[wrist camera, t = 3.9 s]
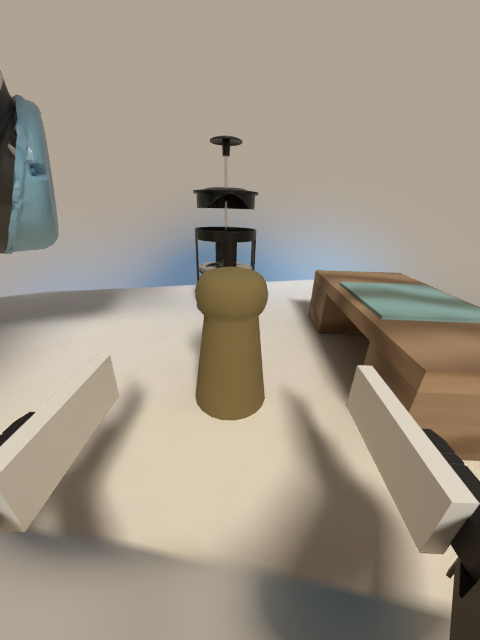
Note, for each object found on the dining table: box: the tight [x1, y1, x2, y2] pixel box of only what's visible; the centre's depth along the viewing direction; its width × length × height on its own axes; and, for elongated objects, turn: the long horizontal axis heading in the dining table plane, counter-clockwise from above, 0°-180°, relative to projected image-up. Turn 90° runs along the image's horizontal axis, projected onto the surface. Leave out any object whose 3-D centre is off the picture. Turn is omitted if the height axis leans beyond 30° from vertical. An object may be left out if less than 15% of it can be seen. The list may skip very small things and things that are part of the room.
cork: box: [195, 267, 268, 420], centre depth 19 cm, size 6×6×11 cm
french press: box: [193, 136, 258, 310], centre depth 37 cm, size 12×9×23 cm
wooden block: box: [309, 270, 480, 461], centre depth 26 cm, size 24×12×7 cm, turn 179°
